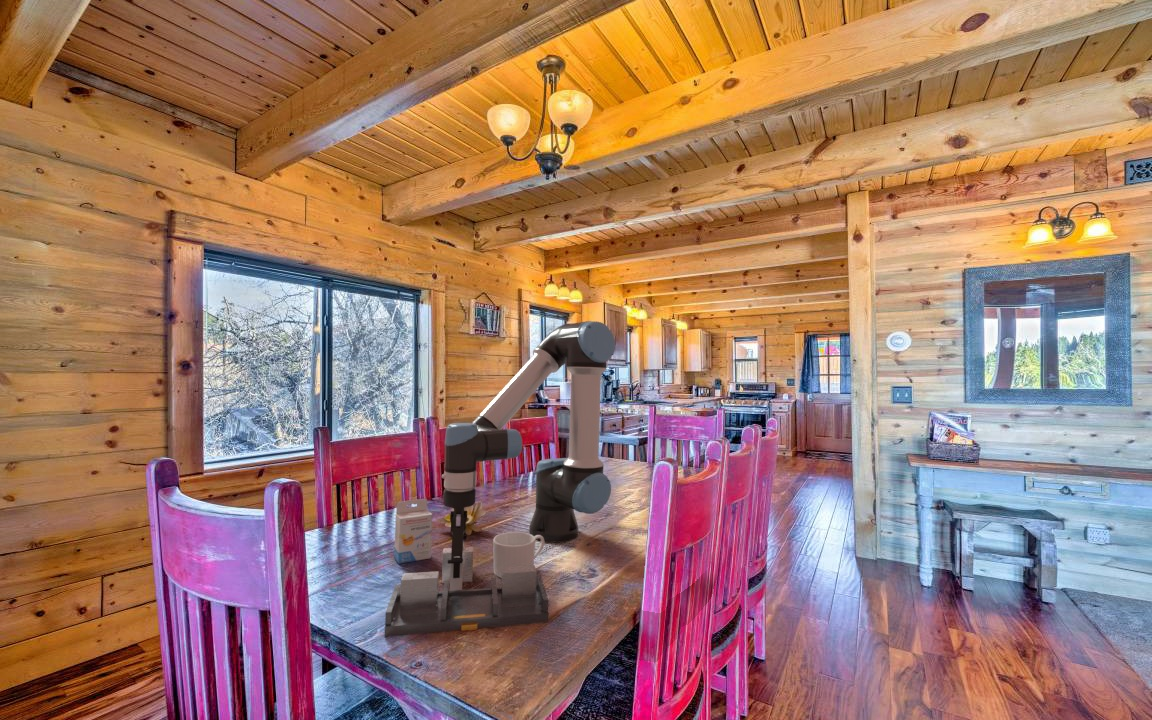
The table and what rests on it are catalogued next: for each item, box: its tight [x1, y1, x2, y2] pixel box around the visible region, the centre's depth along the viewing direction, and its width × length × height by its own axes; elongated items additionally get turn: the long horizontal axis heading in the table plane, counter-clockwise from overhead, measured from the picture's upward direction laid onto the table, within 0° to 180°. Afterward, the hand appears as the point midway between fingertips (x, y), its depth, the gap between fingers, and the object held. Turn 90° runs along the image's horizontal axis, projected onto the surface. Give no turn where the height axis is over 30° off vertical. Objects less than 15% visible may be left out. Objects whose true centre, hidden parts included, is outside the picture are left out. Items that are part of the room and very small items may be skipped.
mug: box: [492, 531, 545, 579], centre depth 121 cm, size 13×10×8 cm
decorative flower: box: [435, 500, 487, 536], centre depth 149 cm, size 15×11×10 cm
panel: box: [441, 546, 474, 584], centre depth 115 cm, size 7×3×7 cm, turn 102°
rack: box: [383, 565, 550, 637], centre depth 99 cm, size 31×14×8 cm, turn 102°
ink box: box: [393, 498, 433, 565], centre depth 127 cm, size 8×5×15 cm, turn 123°
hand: (456, 578), depth 115 cm, fingers open, 12 cm apart
